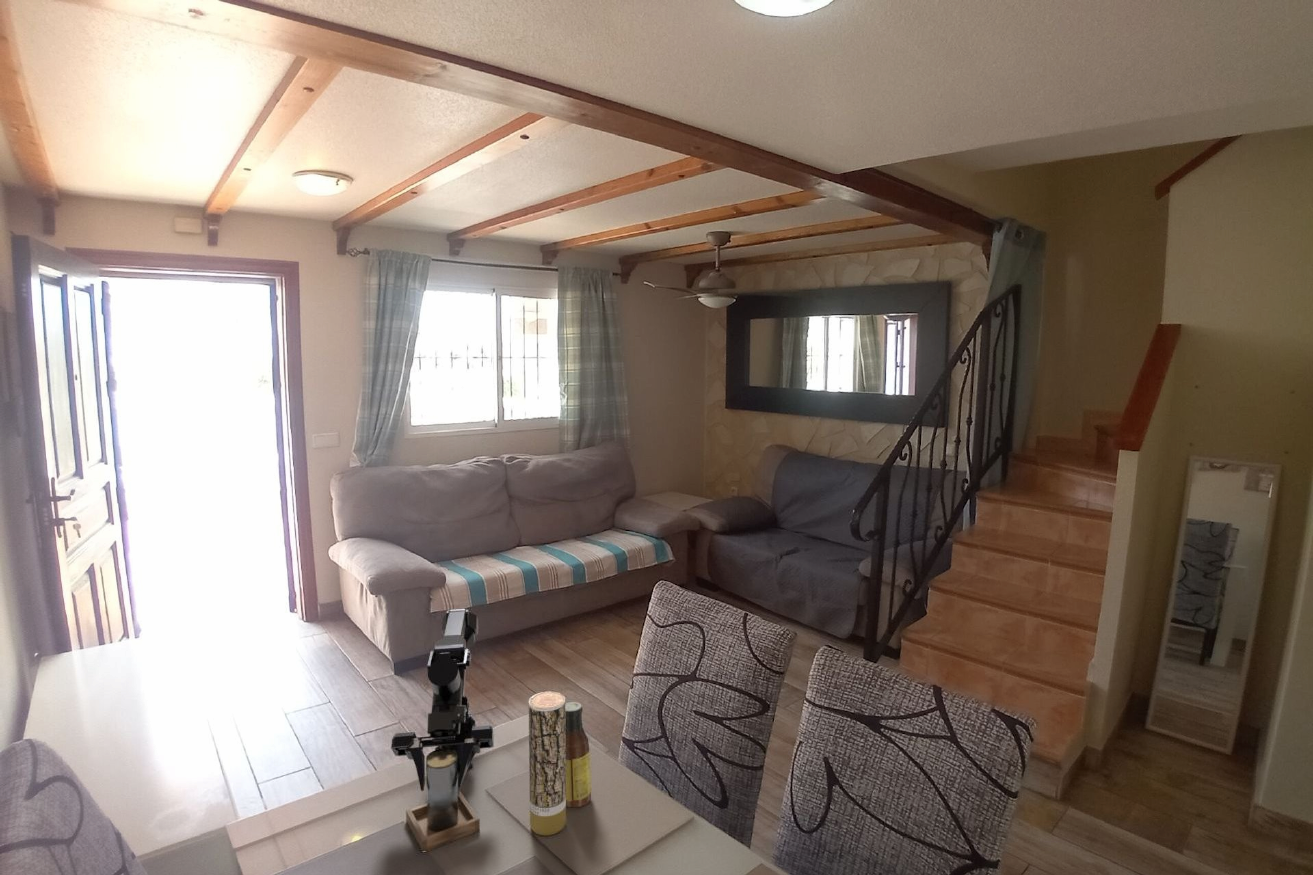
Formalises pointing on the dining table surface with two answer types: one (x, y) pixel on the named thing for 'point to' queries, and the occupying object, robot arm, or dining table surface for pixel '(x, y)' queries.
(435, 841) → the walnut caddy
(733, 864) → the dining table surface
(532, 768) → the paper tube
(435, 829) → the tea tin
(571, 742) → the sauce bottle
